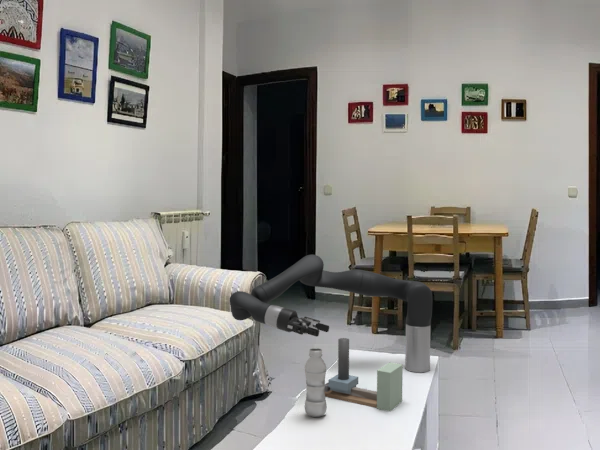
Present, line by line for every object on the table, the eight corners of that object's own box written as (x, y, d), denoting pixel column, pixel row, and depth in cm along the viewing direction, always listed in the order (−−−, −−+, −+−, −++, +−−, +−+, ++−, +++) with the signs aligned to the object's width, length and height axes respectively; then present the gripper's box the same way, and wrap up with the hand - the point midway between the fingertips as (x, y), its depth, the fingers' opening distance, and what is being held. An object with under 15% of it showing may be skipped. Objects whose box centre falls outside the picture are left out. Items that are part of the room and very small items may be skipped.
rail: (334, 387, 192) (334, 379, 192) (388, 398, 182) (388, 389, 182) (321, 395, 185) (321, 386, 184) (376, 407, 174) (376, 398, 174)
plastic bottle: (324, 420, 164) (325, 353, 163) (302, 418, 165) (302, 352, 164) (328, 412, 170) (328, 347, 169) (306, 410, 172) (306, 346, 171)
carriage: (339, 384, 190) (340, 335, 190) (358, 387, 187) (358, 338, 186) (328, 391, 184) (328, 340, 183) (347, 395, 180) (347, 343, 179)
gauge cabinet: (387, 398, 182) (387, 362, 182) (402, 401, 180) (402, 364, 179) (374, 407, 174) (375, 370, 173) (390, 411, 171) (390, 372, 171)
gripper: (273, 310, 184) (317, 323, 178) (292, 305, 197) (333, 317, 191) (269, 332, 185) (313, 346, 178) (288, 325, 198) (329, 338, 191)
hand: (323, 331), depth 184 cm, fingers open, 8 cm apart
